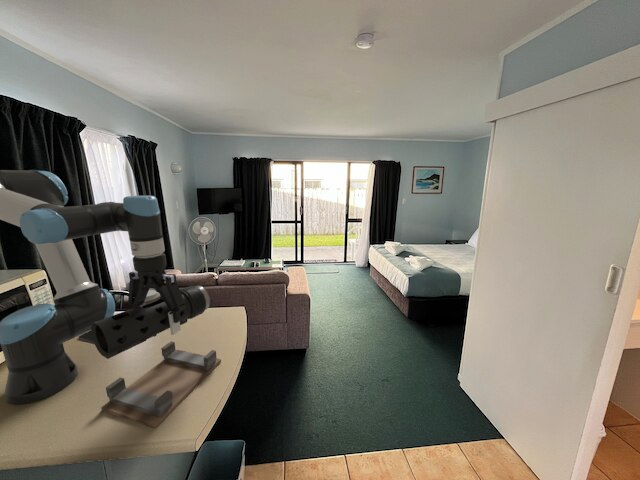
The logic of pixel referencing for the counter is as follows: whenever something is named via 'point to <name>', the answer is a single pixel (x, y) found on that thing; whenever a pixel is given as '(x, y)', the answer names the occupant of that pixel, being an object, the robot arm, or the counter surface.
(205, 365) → the mounting board
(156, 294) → the disposable coffee cup
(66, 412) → the counter surface
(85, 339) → the smartphone
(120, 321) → the muzzle brake
